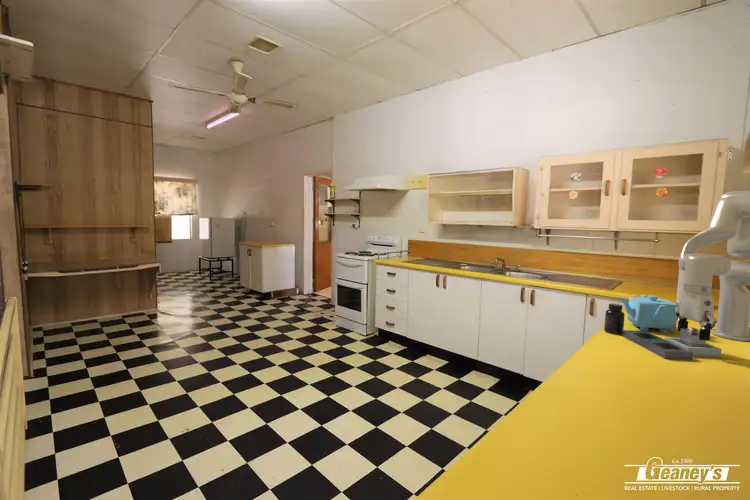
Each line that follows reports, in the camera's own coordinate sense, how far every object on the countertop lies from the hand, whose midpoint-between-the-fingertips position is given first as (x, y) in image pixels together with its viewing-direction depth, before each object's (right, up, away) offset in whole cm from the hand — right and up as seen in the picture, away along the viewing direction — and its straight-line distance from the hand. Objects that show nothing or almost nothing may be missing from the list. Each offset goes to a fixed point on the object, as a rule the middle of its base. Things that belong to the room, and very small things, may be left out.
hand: (692, 335), depth 130 cm
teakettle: (+5, -4, +28) cm, 29 cm away
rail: (-11, -5, +4) cm, 13 cm away
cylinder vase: (+65, -1, +74) cm, 98 cm away
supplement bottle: (-14, -4, +22) cm, 26 cm away
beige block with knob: (0, -5, +1) cm, 5 cm away
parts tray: (0, -6, 0) cm, 6 cm away
